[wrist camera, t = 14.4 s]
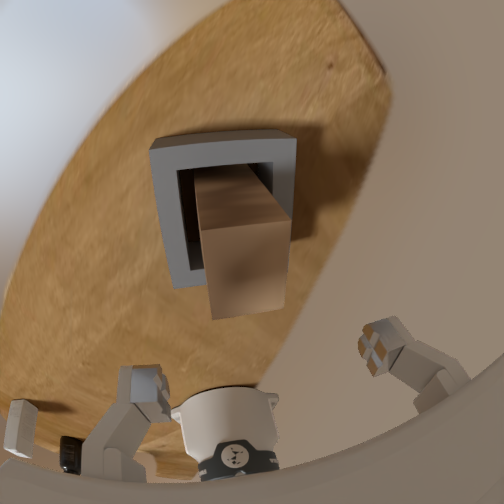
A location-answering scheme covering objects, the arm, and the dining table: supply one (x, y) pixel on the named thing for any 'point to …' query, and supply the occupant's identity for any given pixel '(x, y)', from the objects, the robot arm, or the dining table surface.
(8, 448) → the skincare box
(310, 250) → the dining table surface
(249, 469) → the robot arm
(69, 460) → the supplement bottle
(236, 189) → the walnut peg
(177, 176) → the holder
